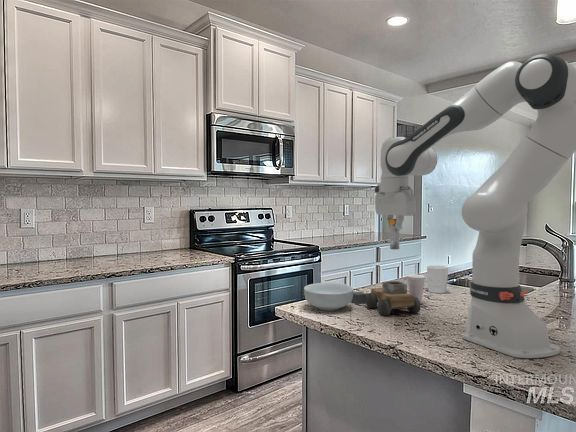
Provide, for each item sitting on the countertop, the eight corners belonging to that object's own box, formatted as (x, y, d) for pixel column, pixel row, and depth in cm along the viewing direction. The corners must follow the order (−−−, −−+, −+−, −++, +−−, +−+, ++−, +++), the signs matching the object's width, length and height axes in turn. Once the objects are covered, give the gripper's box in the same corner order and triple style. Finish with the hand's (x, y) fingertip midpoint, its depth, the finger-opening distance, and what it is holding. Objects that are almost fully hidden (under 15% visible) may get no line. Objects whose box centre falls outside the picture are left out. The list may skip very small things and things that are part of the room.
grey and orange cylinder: (401, 249, 132) (400, 218, 132) (393, 249, 131) (392, 219, 131) (396, 248, 135) (396, 218, 135) (388, 248, 134) (388, 218, 134)
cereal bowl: (294, 308, 137) (293, 287, 137) (323, 299, 149) (323, 280, 149) (334, 317, 126) (334, 295, 125) (363, 307, 138) (363, 286, 138)
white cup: (451, 293, 156) (451, 268, 156) (430, 294, 156) (430, 268, 156) (443, 289, 164) (443, 265, 164) (424, 289, 164) (424, 265, 164)
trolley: (420, 314, 129) (420, 286, 128) (385, 317, 125) (385, 288, 125) (397, 303, 142) (397, 278, 142) (365, 306, 139) (365, 280, 139)
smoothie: (423, 300, 146) (423, 262, 145) (427, 305, 139) (427, 265, 139) (405, 300, 146) (405, 262, 146) (408, 305, 140) (408, 265, 140)
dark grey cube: (366, 303, 143) (366, 294, 143) (356, 304, 142) (356, 294, 142) (361, 301, 147) (361, 291, 147) (351, 301, 146) (351, 292, 146)
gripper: (421, 185, 123) (421, 230, 124) (387, 188, 143) (388, 227, 144) (402, 185, 122) (403, 231, 122) (371, 188, 141) (372, 227, 142)
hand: (394, 229), depth 133 cm, fingers closed on grey and orange cylinder, 3 cm apart
